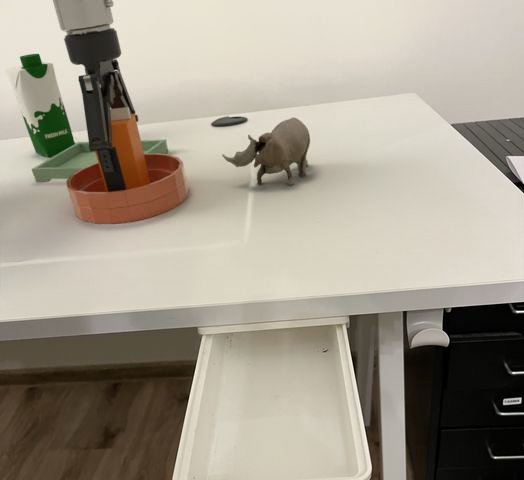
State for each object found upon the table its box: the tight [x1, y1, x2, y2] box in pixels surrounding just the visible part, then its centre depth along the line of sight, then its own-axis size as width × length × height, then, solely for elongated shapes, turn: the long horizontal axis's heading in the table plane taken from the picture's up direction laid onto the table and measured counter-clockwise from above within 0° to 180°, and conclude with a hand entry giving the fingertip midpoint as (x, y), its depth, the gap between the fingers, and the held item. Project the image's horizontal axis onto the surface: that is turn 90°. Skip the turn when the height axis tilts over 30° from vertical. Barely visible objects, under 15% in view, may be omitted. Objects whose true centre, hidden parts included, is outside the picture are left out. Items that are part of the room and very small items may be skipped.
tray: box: [31, 139, 169, 182], centre depth 113 cm, size 22×18×2 cm
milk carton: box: [5, 53, 76, 159], centre depth 122 cm, size 9×9×20 cm
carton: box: [95, 107, 150, 192], centre depth 89 cm, size 6×6×15 cm
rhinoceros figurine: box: [221, 116, 311, 186], centre depth 94 cm, size 8×14×15 cm
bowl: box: [65, 153, 189, 225], centre depth 92 cm, size 19×19×6 cm
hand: (127, 176), depth 91 cm, fingers open, 13 cm apart
